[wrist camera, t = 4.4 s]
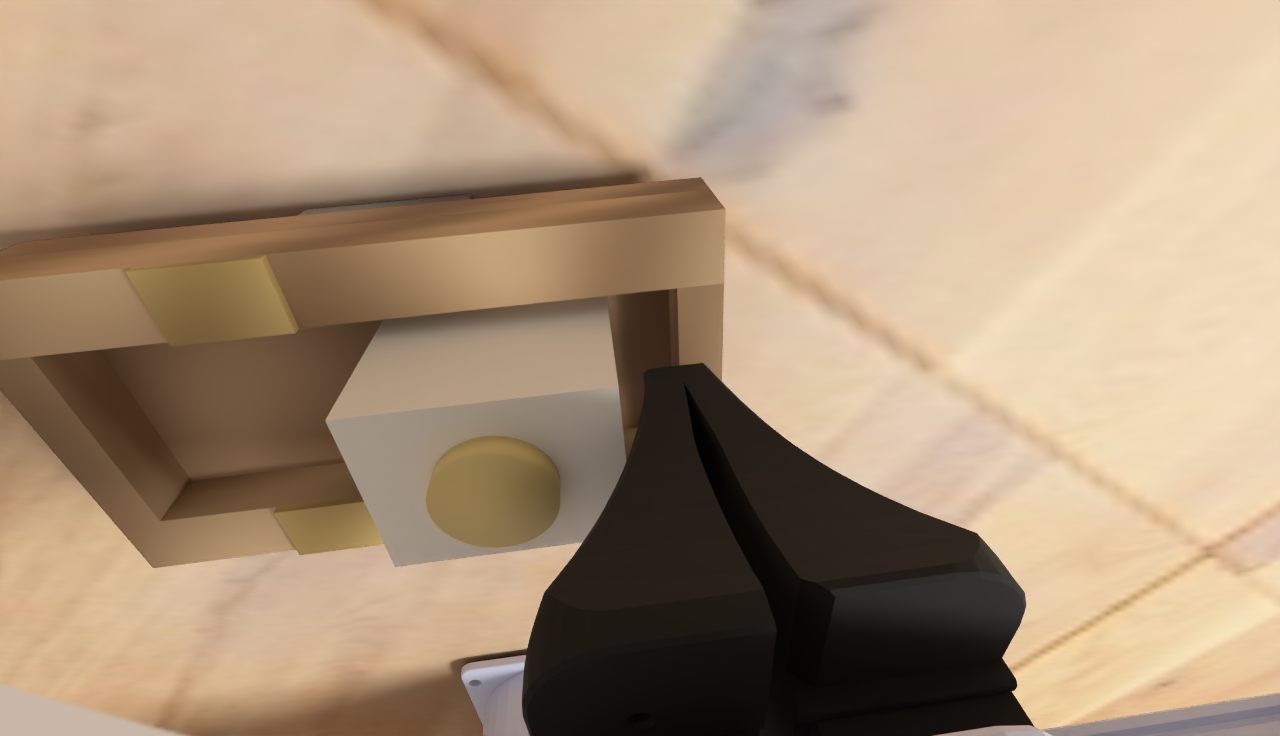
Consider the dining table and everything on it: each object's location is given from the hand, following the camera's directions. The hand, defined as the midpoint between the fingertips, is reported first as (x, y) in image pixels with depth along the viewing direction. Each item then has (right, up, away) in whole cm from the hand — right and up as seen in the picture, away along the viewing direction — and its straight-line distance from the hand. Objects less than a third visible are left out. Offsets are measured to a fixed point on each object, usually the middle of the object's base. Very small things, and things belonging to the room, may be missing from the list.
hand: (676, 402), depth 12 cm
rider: (-4, +1, +2) cm, 4 cm away
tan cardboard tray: (-7, +2, +3) cm, 8 cm away
